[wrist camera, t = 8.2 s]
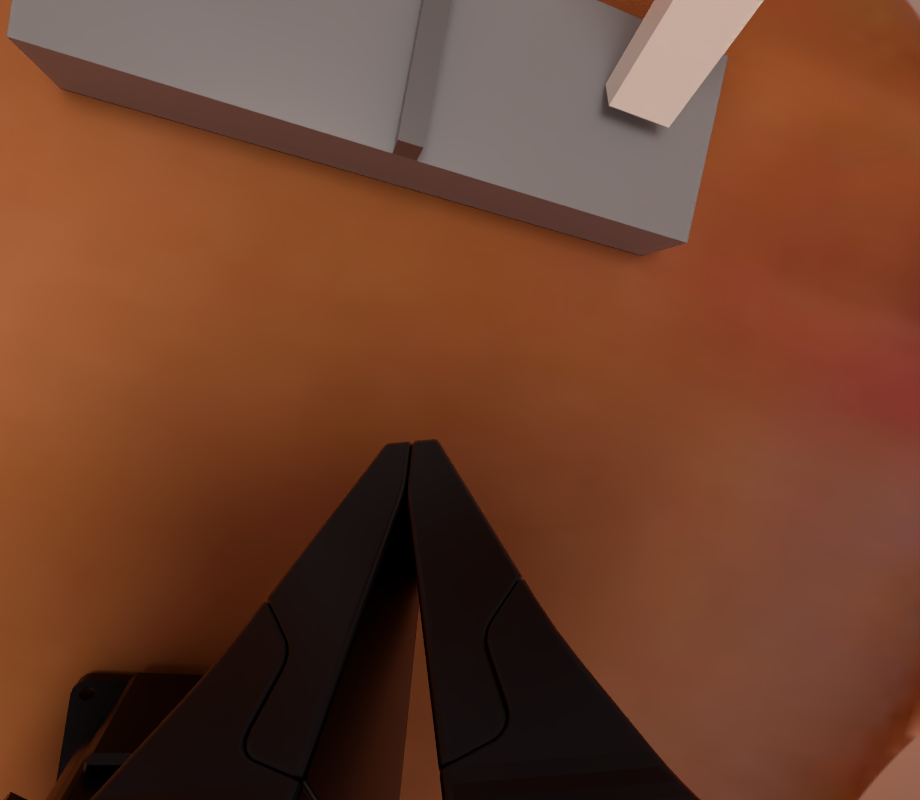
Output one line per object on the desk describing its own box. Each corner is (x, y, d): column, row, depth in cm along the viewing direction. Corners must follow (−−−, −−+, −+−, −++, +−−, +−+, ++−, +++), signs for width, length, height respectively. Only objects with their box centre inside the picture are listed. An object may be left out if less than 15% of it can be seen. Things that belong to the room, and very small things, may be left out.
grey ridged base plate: (641, 255, 23) (709, 236, 19) (60, 88, 17) (-22, 9, 13) (676, 93, 22) (753, 38, 18) (94, -135, 17) (20, -288, 13)
